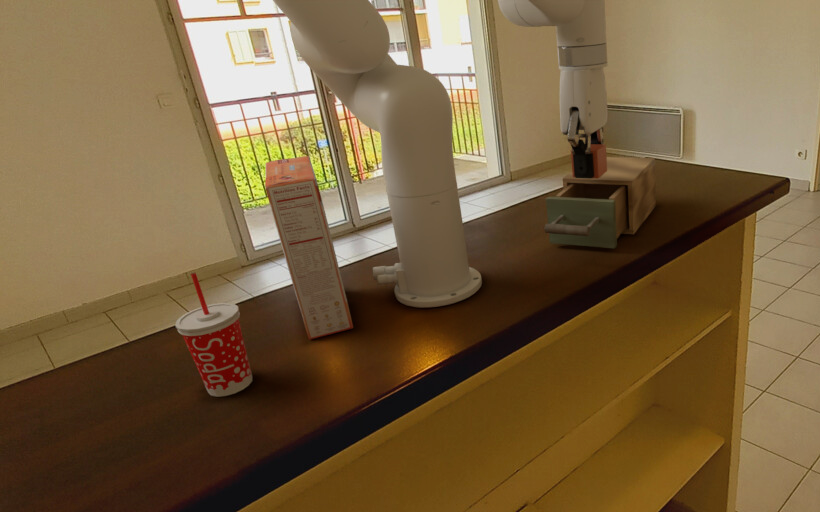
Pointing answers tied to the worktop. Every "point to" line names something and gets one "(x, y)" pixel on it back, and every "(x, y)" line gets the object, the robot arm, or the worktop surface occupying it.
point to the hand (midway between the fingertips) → (589, 172)
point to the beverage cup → (216, 345)
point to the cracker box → (307, 245)
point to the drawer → (588, 215)
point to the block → (596, 160)
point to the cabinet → (639, 185)
